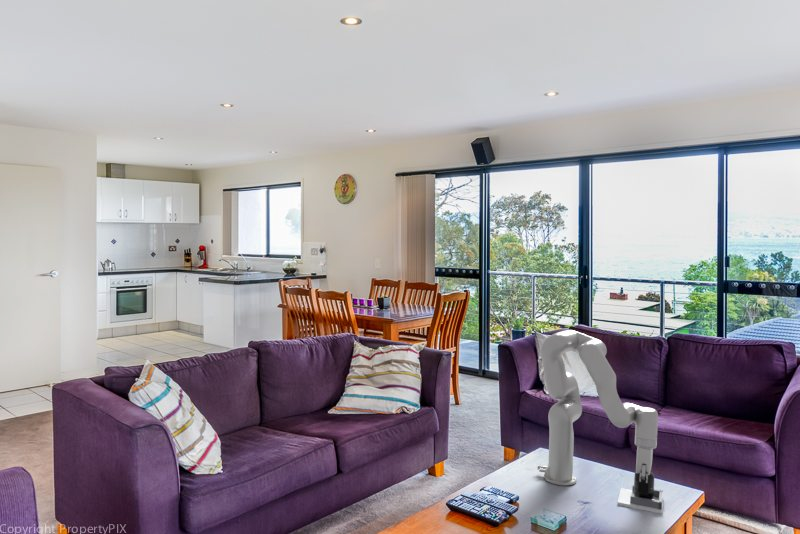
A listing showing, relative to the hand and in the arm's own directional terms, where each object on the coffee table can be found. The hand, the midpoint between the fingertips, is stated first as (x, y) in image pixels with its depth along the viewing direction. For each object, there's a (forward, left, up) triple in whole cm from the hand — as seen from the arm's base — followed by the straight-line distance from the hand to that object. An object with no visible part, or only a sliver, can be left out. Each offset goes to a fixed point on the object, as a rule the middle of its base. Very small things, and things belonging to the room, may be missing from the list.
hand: (643, 488), depth 215 cm
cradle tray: (-1, 0, -5) cm, 5 cm away
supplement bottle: (0, 0, -3) cm, 3 cm away
